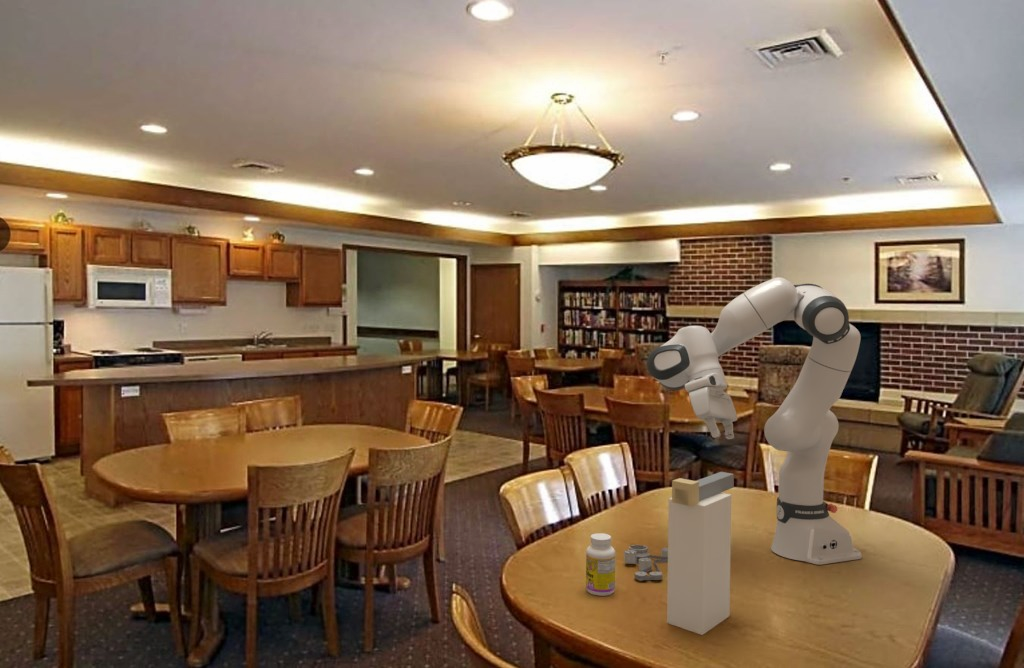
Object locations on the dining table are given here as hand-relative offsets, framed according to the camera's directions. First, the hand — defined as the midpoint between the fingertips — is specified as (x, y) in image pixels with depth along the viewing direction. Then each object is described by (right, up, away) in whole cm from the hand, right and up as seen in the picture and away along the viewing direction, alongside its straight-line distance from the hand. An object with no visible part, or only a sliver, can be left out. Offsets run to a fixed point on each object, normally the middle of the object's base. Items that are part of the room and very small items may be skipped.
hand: (723, 437), depth 176 cm
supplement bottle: (-32, -34, -13) cm, 49 cm away
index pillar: (-14, -34, -28) cm, 46 cm away
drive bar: (-12, -8, -27) cm, 31 cm away
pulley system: (-16, -34, +5) cm, 38 cm away
